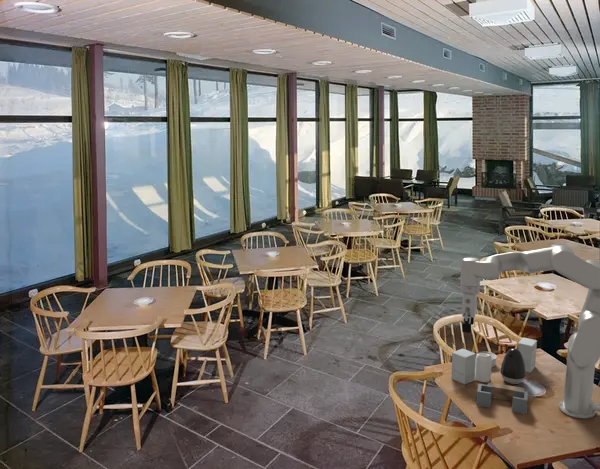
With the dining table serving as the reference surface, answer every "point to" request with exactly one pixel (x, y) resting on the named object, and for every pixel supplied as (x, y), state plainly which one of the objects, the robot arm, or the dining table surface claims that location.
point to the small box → (528, 352)
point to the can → (483, 367)
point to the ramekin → (493, 359)
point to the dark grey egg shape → (513, 367)
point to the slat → (503, 391)
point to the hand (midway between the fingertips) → (467, 327)
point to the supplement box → (463, 366)
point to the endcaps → (517, 405)
